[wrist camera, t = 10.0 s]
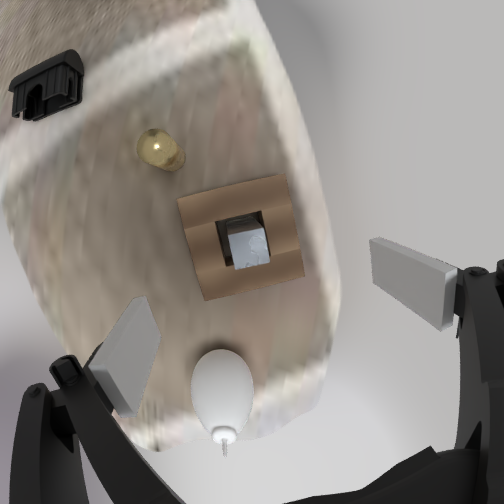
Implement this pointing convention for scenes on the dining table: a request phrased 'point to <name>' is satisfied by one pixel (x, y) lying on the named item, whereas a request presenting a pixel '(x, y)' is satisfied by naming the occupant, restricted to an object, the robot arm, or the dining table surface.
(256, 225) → the square bit
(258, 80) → the dining table surface
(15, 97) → the end cap
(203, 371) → the white air blower
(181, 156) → the round bit
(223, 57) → the dining table surface
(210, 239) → the socket board
